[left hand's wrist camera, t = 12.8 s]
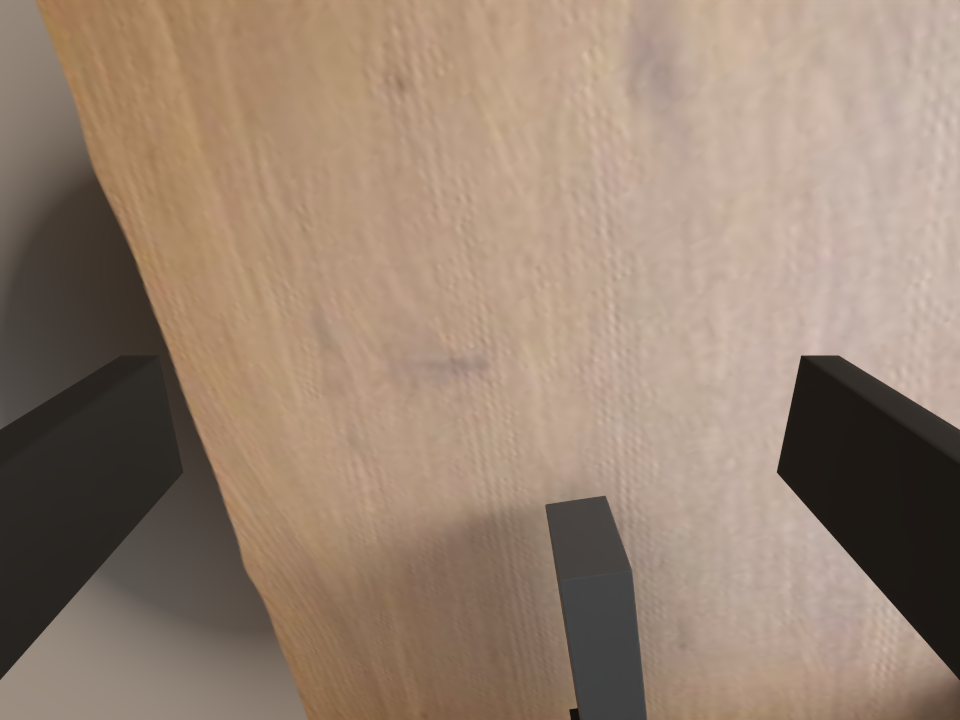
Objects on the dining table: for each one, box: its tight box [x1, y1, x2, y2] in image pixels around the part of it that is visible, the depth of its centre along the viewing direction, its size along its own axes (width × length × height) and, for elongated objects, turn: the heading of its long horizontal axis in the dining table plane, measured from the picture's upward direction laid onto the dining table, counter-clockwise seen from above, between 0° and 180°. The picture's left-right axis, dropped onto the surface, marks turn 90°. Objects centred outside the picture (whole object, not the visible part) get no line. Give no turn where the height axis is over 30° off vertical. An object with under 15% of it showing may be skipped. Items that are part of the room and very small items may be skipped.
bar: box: [545, 496, 647, 720], centre depth 45 cm, size 26×5×8 cm, turn 10°
